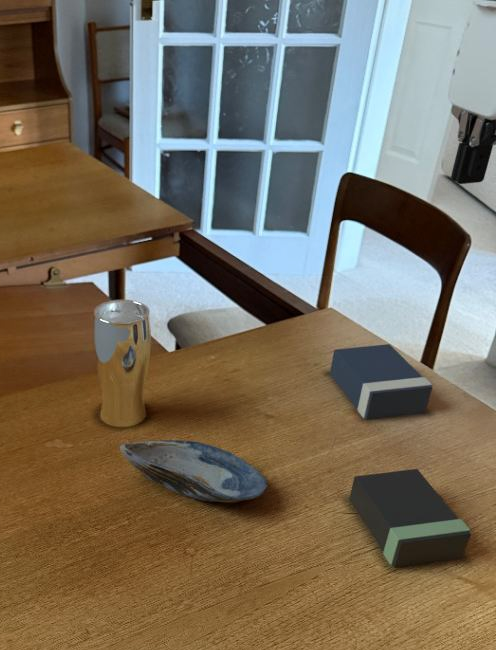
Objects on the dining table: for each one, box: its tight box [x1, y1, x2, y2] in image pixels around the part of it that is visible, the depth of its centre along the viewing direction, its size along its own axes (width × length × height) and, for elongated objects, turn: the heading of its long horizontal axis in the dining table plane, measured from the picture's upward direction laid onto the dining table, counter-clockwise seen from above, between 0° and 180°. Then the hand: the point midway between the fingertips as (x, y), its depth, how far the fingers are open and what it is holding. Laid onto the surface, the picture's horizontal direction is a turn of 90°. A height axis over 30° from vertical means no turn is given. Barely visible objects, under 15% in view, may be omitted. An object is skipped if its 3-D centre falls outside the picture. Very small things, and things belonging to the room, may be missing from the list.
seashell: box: [119, 439, 268, 503], centre depth 83 cm, size 15×12×5 cm
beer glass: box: [92, 299, 152, 428], centre depth 92 cm, size 7×7×15 cm
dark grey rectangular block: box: [348, 468, 472, 569], centre depth 77 cm, size 8×4×11 cm
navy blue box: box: [329, 343, 433, 421], centre depth 98 cm, size 8×5×12 cm
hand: (466, 180), depth 85 cm, fingers closed
